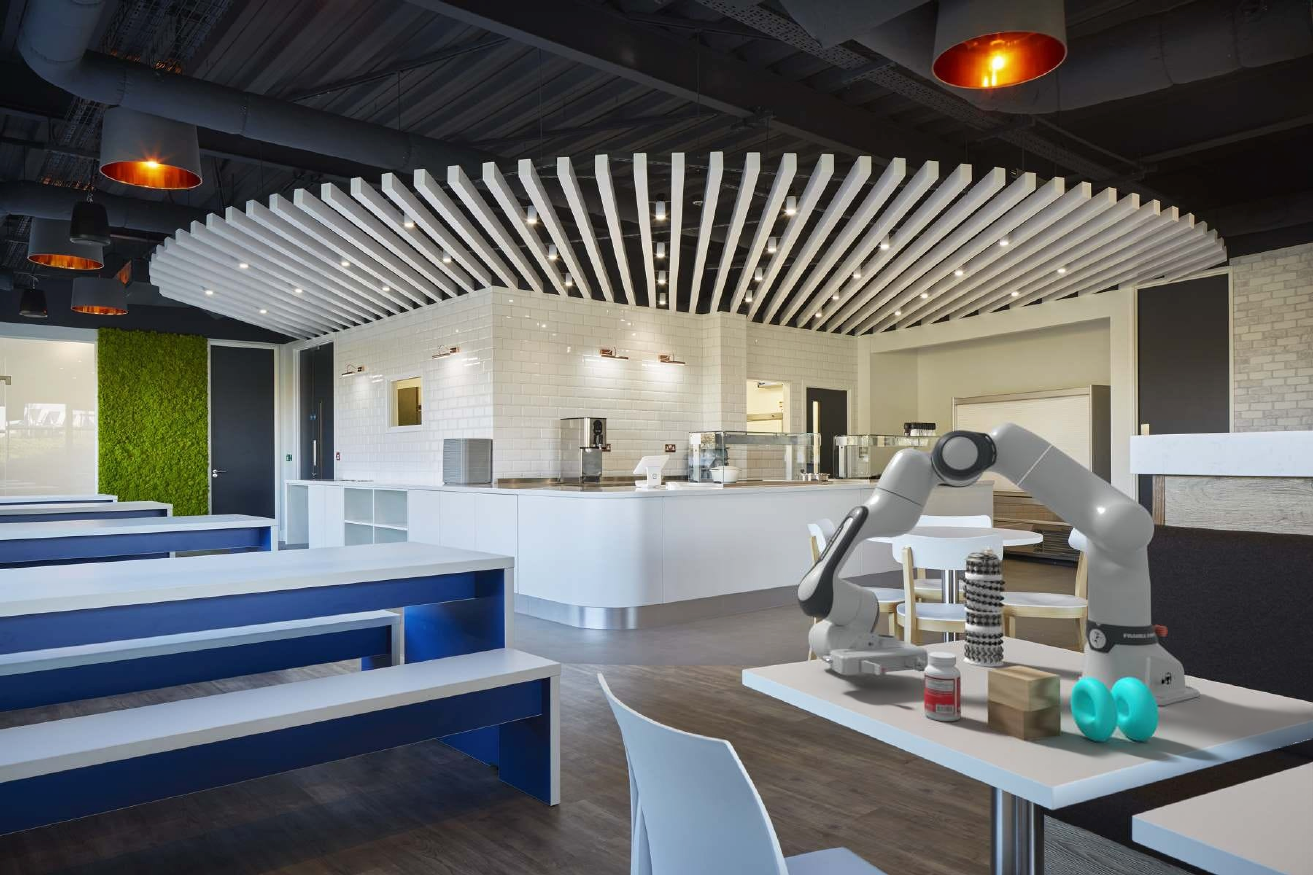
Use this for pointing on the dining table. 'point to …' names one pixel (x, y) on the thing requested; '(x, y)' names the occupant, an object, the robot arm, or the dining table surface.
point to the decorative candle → (983, 610)
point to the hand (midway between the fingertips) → (903, 668)
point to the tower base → (1024, 721)
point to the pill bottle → (942, 687)
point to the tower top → (1024, 688)
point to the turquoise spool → (1114, 709)
